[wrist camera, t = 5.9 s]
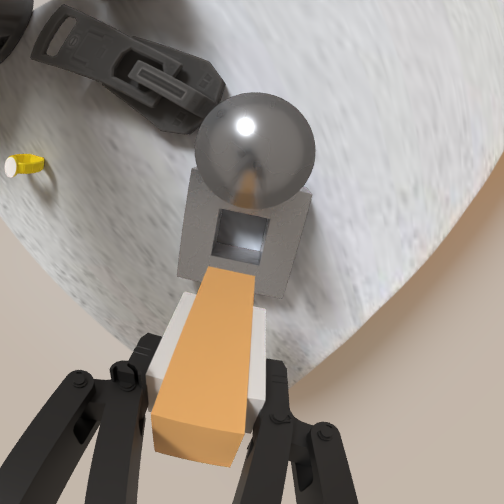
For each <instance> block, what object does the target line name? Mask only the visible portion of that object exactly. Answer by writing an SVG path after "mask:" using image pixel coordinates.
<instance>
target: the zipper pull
mask: <svg viewBox="0 0 504 504" xmlns="http://www.w3.org/2000/svg"><path fill="white" fill-rule="evenodd" d="M68 17H72V18H75V19H76V20H77V23H76V25H75V26H74V28H73V30H72V31H71V33H70V34H69V36H68V37H67V39H66V41H65V42H64V44H63V46H62V47H61V49H60V51H59V52H58V54H57V55H56V56H54V57H52V56H49V55H47V54H46V52H47V49H48V46H49V44H50V42H51V40H52V39H53V37H54V35H55V34H56V32H57V30H58V29H59V27H60V26H61V24H62V23H63V22H64V21H65V20H66V19H67V18H68ZM30 58H31V59H32V60H35V61H39V62H42V63H45V64H48V65H52V66H56V67H59V68H62V69H65V70H68V71H71V72H74V73H76V74H79V75H82V76H85V77H88V78H90V79H93V80H96V81H98V82H101V83H102V85H103V86H105V87H106V88H107V89H109V90H110V91H111V92H113V93H114V94H115V95H117V96H118V97H119V98H121V99H122V100H123V101H124V102H126V103H127V104H128V105H130V106H131V107H132V108H134V109H135V110H136V111H137V112H139V113H140V114H141V115H143V116H144V117H145V118H146V119H147V120H149V121H150V122H151V123H152V124H154V125H155V126H156V127H157V128H158V129H160V130H161V131H165V132H173V133H180V134H191V133H192V132H194V131H195V130H196V129H197V128H199V127H200V126H201V124H202V122H203V121H204V119H205V118H206V116H207V115H208V114H209V113H210V112H211V111H212V110H213V109H214V108H215V107H216V106H217V105H218V104H219V103H220V100H221V97H222V94H223V90H224V87H225V82H224V81H223V79H222V78H221V77H220V75H219V74H218V73H217V71H216V70H215V68H214V67H213V66H212V64H211V63H210V62H209V61H206V60H204V59H201V58H198V57H196V56H193V55H190V54H187V53H184V52H182V51H179V50H176V49H173V48H170V47H167V46H164V45H161V44H158V43H155V42H151V41H148V40H145V39H141V38H137V37H129V36H127V35H126V34H124V33H122V32H120V31H118V30H116V29H115V28H113V27H111V26H109V25H107V24H105V23H103V22H101V21H99V20H97V19H95V18H93V17H91V16H89V15H86V14H84V13H83V12H81V11H78V10H76V9H74V8H72V7H69V6H67V5H64V4H63V5H61V7H60V8H59V9H58V10H57V11H56V12H55V13H54V14H53V15H52V16H51V18H50V19H49V21H48V22H47V23H46V25H45V26H44V28H43V30H42V31H41V33H40V35H39V37H38V39H37V41H36V43H35V45H34V48H33V51H32V54H31V57H30Z"/></svg>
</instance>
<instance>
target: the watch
mask: <svg viewBox="0 0 504 504" xmlns="http://www.w3.org/2000/svg"><path fill="white" fill-rule="evenodd" d="M44 161H45V160H44V157H43V158H42V157H39V156H36V155H32V154H17V155H12V156H10V157H8V158H7V160H6V162H5V173H6V175H7V176H8V177H14V176H16V175H17V174H18V173H20V174H23V173H24V174H30V173H36V172H40V171H41V170H43V167H44Z"/></svg>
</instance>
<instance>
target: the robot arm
mask: <svg viewBox="0 0 504 504" xmlns="http://www.w3.org/2000/svg"><path fill="white" fill-rule="evenodd" d="M33 2H34V1H33V0H0V63H1V62H2V61H3V60H4V59H5V58H6V57H7V56H8V55H9V54H10V52H11V51H12V50H13V48H14V47H15V46H16V44H17V43H18V41H19V39H20V38H21V36H22V34H23V32H24V30H25V28H26V26H27V24H28V22H29V19H30V16H31V13H32V10H33ZM196 295H197V294H193V293H189V292H185V291H184V293H183V295H182V297H181V299H180V301H179V303H178V305H177V307H176V309H175V312H174V314H173V316H172V318H171V320H170V322H169V324H168V326H167V329H166V331H165V333H164V335H163V337H161V336H157V335H154V334H150V333H147V334H146V335H144V336H143V337H141V338H140V340H139V342H138V344H137V347H136V348H135V349H134V352H133V353H132V355H131V357H130V359H129V361H119V362H116V363H114V364H113V365H112V366H111V368H110V374H111V380H99V379H93V377H92V375H91V374H90V373H88V372H87V371H83V370H75V371H72V372H71V373H69V374H68V375H67V376H66V378H65V379H64V380H63V381H62V383H61V384H60V385H59V387H58V388H57V389H56V390H55V392H54V393H53V394H52V396H51V397H50V398H49V399H48V401H47V402H46V404H45V405H44V406H43V407H42V409H41V410H40V412H39V413H38V414H37V416H36V417H35V418H34V420H33V421H32V422H31V424H30V425H29V426H28V428H27V429H26V431H25V432H24V433H23V435H22V436H21V438H20V439H19V441H18V442H17V443H16V445H15V446H14V448H13V449H12V451H11V452H10V454H9V455H8V457H7V458H6V460H5V461H4V463H3V464H2V466H1V468H0V504H56V503H57V501H58V499H59V497H60V495H61V493H62V491H63V489H64V488H65V486H66V484H67V482H68V480H69V478H70V476H71V475H72V473H73V471H74V469H75V467H76V465H77V464H78V462H79V460H80V458H81V456H82V455H83V453H84V451H85V449H86V448H87V446H88V444H89V442H90V440H91V439H92V437H93V435H94V434H95V432H96V430H97V429H98V427H99V425H100V428H99V432H98V436H97V440H96V445H95V449H94V454H93V458H92V463H91V469H90V474H89V479H88V486H87V491H86V497H85V504H137V491H138V479H139V469H140V459H141V450H142V442H143V435H144V427H145V413H146V410H147V408H148V411H149V412H152V409H153V406H154V404H155V401H156V398H157V395H158V393H159V390H160V387H161V384H162V382H163V379H164V376H165V374H166V371H167V368H168V366H169V363H170V361H171V358H172V355H173V353H174V350H175V348H176V345H177V342H178V340H179V337H180V335H181V332H182V330H183V327H184V325H185V322H186V320H187V317H188V315H189V312H190V310H191V307H192V305H193V302H194V300H195V297H196ZM287 384H288V380H287V368H286V367H285V365H284V363H283V362H282V361H279V360H273V359H266V309H264V308H259V307H254V306H253V317H252V332H251V347H250V362H249V377H248V392H247V406H246V421H245V433H251V432H252V430H253V437H252V439H251V442H250V443H249V445H248V447H247V449H248V452H247V455H246V459H245V462H244V466H243V469H242V473H241V476H240V480H239V483H238V487H237V490H236V493H235V497H234V500H233V503H232V504H281V500H282V495H283V489H284V484H285V477H286V471H287V466H288V461H291V465H292V473H293V480H294V487H295V495H296V502H297V504H358V500H357V496H356V492H355V488H354V484H353V480H352V476H351V473H350V469H349V465H348V461H347V458H346V454H345V450H344V447H343V443H342V439H341V436H340V433H339V431H338V429H337V428H336V427H335V426H334V425H333V424H330V423H328V422H319V423H316V424H315V425H310V424H307V423H304V422H301V421H300V420H298V419H297V418H295V417H294V416H293V414H292V413H291V411H290V408H289V394H288V385H287ZM100 423H101V424H100Z"/></svg>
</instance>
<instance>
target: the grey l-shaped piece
mask: <svg viewBox="0 0 504 504" xmlns="http://www.w3.org/2000/svg"><path fill="white" fill-rule="evenodd" d="M195 159H196V164H197V167H194V168H192V170H191V176H190V182H189V188H188V194H187V201H186V208H185V215H184V222H183V229H182V237H181V245H180V253H179V262H178V272H177V277H181V278H185V279H190V280H194V281H199V282H202V280H203V278H204V275H205V273H206V271H207V268H208V266H210V267H215V268H219V269H224V270H229V271H233V272H238V273H243V274H247V275H252V276H255V286H254V293H255V294H260V295H265V296H270V297H276V298H281V299H282V298H283V295H284V292H285V289H286V285H287V282H288V279H289V275H290V272H291V269H292V265H293V262H294V258H295V255H296V252H297V248H298V245H299V241H300V238H301V234H302V231H303V227H304V223H305V220H306V216H307V213H308V209H309V205H310V201H311V198H312V193H311V192H310V191H309V190H308V189H307V188H306V187H303V186H304V185H305V183H306V181H307V180H308V178H309V176H310V174H311V172H312V169H313V166H314V161H315V141H314V137H313V133H312V130H311V128H310V126H309V124H308V122H307V120H306V119H305V118H304V116H303V115H302V114H301V113H300V112H299V110H298V109H297V108H295V107H294V106H293V105H292V104H290V103H289V102H287V101H285V100H284V99H282V98H279V97H277V96H274V95H271V94H266V93H243V94H239V95H236V96H233V97H231V98H228V99H226V100H225V101H223V102H221V103H220V104H218V105H217V106H216V107H215V108H214V109H213V110H212V111H211V112H210V113H209V114H208V115H207V116H206V118H205V119H204V121H203V122H202V124H201V126H200V128H199V131H198V134H197V137H196V143H195ZM223 209H226V210H230V211H235V212H240V213H245V214H249V215H254V216H259V217H263V218H268V220H267V224H266V228H265V232H264V236H263V240H262V245H261V249H260V251H255V250H251V249H246V248H241V247H237V246H232V245H227V244H222V243H218V242H217V238H218V232H219V227H220V221H221V216H222V210H223Z"/></svg>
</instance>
